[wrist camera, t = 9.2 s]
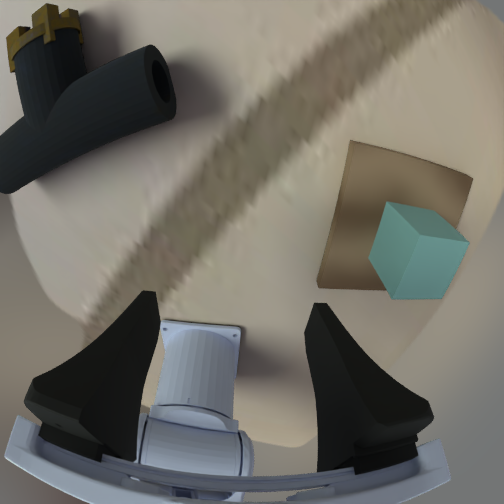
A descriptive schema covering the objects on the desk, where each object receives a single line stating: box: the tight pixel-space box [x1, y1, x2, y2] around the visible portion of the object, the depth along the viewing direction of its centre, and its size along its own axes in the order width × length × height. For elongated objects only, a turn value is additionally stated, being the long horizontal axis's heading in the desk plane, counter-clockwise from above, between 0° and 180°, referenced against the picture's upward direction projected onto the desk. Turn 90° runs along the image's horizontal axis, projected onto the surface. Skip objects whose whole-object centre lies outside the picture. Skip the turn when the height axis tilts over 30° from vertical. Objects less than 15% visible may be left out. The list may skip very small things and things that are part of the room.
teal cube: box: [368, 202, 470, 299], centre depth 18 cm, size 5×5×5 cm
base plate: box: [316, 140, 473, 290], centre depth 19 cm, size 12×12×4 cm
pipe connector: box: [0, 3, 176, 194], centre depth 12 cm, size 12×5×15 cm
